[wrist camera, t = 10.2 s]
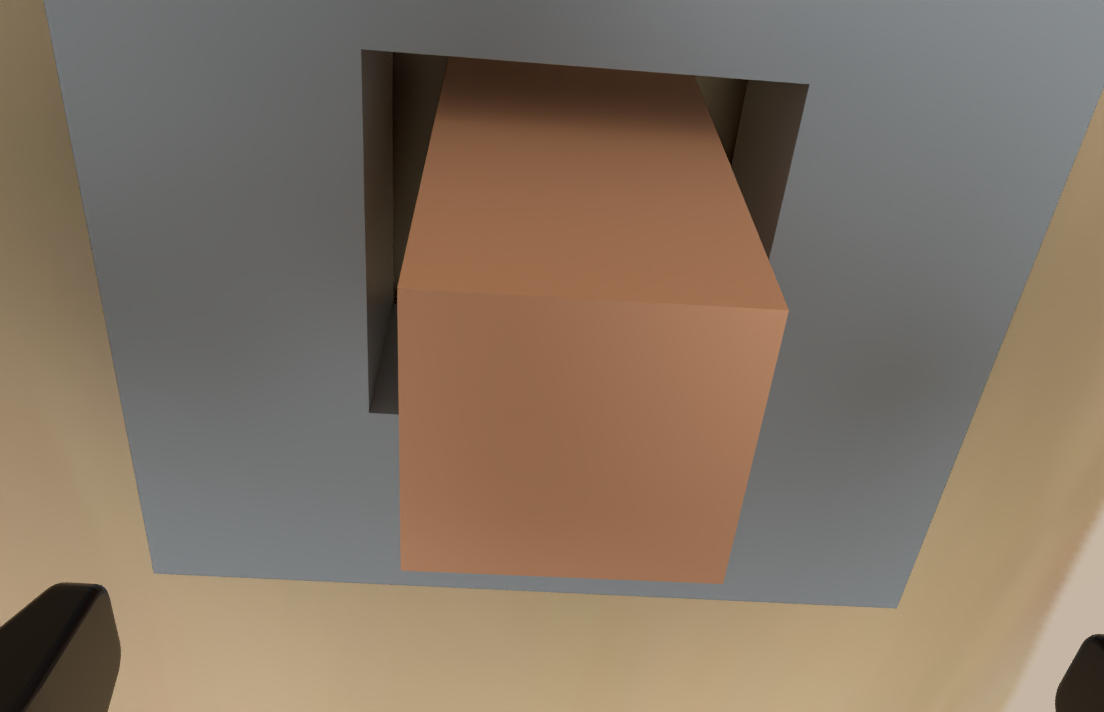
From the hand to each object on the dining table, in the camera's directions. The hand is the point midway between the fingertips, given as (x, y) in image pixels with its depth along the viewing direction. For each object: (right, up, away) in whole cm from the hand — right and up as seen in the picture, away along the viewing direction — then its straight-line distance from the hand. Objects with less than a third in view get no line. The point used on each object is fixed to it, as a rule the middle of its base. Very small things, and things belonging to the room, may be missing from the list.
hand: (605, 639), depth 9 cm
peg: (0, +6, +9) cm, 11 cm away
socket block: (0, +6, +9) cm, 11 cm away
